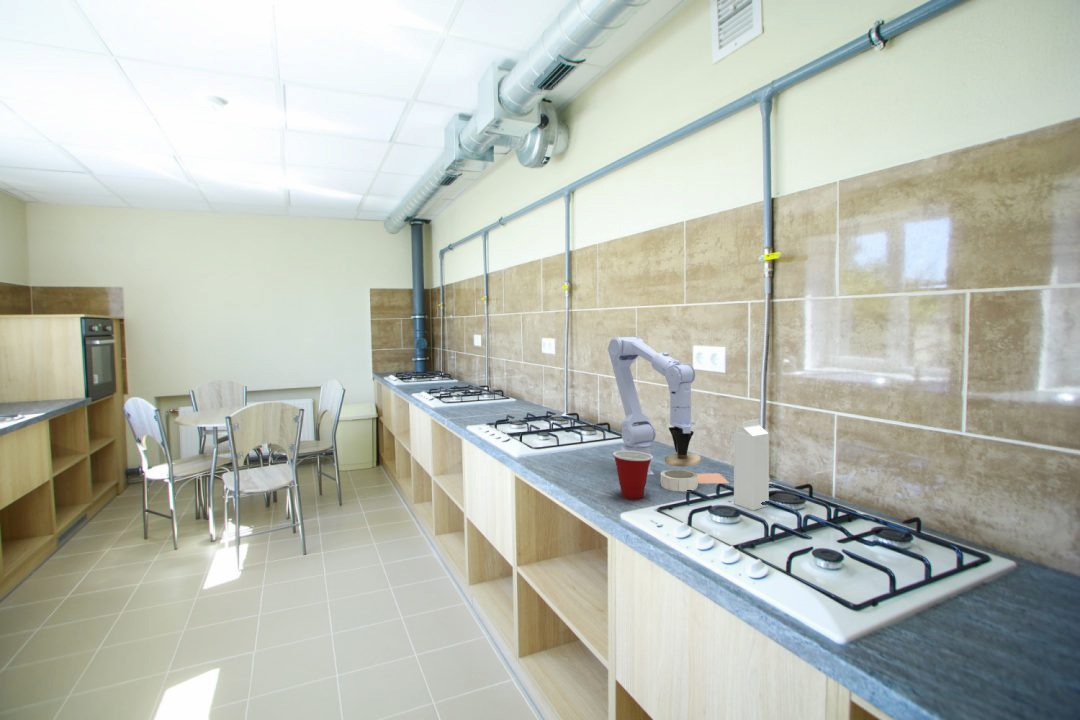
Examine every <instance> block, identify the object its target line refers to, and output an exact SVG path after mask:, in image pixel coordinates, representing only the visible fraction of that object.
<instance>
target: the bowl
mask: <svg viewBox="0 0 1080 720" xmlns="http://www.w3.org/2000/svg"><path fill="white" fill-rule="evenodd" d="M697 474H698V473H696V472H694V471H691V470H687V469H676V468H675V469H674V468H673V469H666V470H663V471H662V472H661V471H660V485H661V488H663V489H665V490H668V491H673V492H688V491H687V490H692V491H695V490H697V489H698V486H699V485H698V475H697Z"/></svg>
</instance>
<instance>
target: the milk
mask: <svg viewBox="0 0 1080 720" xmlns="http://www.w3.org/2000/svg"><path fill="white" fill-rule="evenodd" d="M769 436H770V435H769V432H768V431H767V430H766V429H764V428H763V427H762V426H761V425H760V419H750V420H744V421H743V422H742V427H741V428H739V429H737V430H736V431H734V432H733V503H734V505H736V506H739V507H742V508H744V509H748V510H750V511H757V510H760V509H763V508H767V507H768V506H765V505H762V504H761V503H762V502H765V501H769V502H770V500H769V499H770V496H769V495H770V494H769V492H770V489H769V488H770V475H769V473H770V471H769V470H770V469H769V468H770V467H769V466H770V464H769V463H770V461H769V458H770V457H769V456H770V454H769V453H770V452H769V449H770V445H769V444H770V443H769V441H770V438H769Z"/></svg>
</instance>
